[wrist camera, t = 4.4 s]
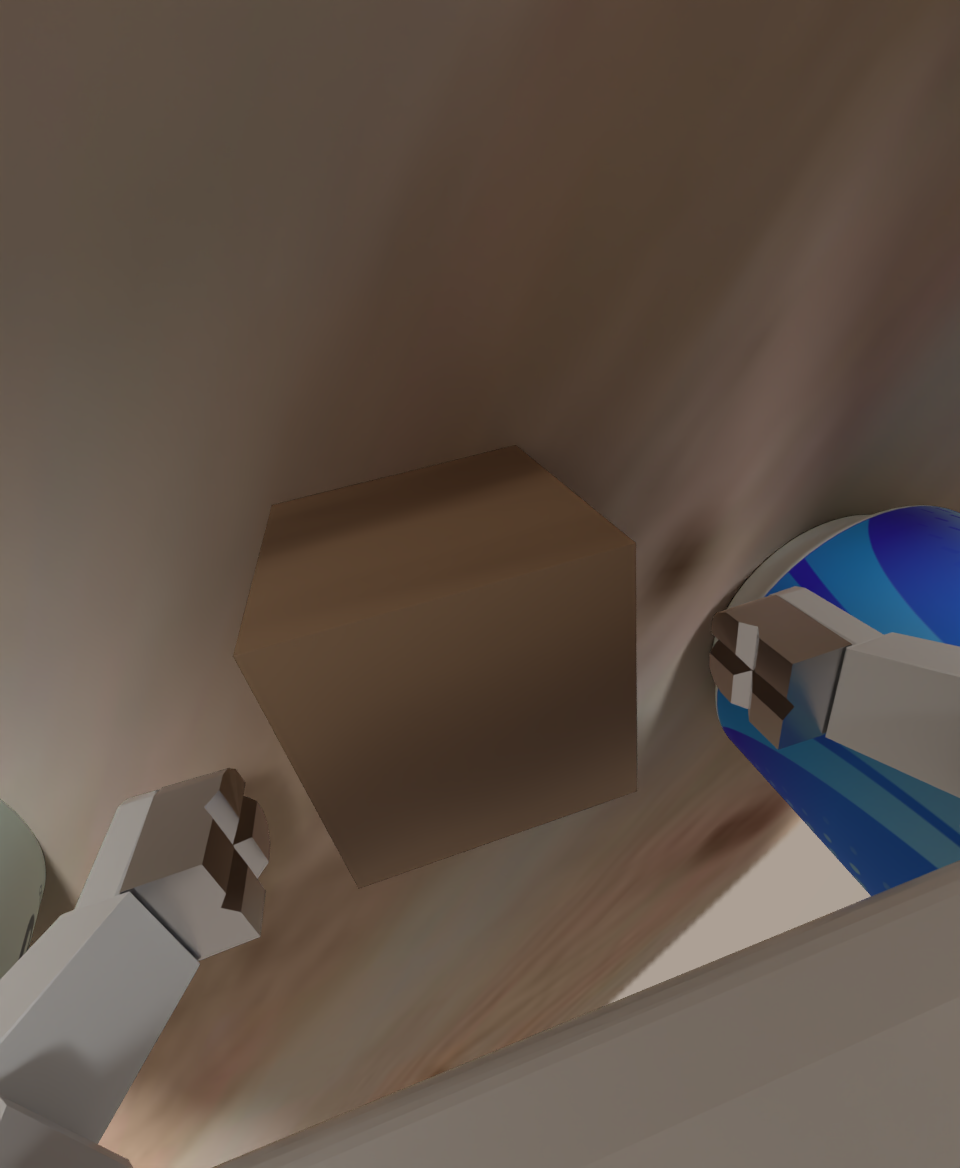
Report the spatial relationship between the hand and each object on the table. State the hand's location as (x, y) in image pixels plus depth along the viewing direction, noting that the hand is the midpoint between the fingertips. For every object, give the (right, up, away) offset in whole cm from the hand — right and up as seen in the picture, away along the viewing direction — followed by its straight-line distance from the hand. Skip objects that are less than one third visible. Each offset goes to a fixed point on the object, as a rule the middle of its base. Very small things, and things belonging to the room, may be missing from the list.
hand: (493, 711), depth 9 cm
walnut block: (-1, +2, +3) cm, 4 cm away
